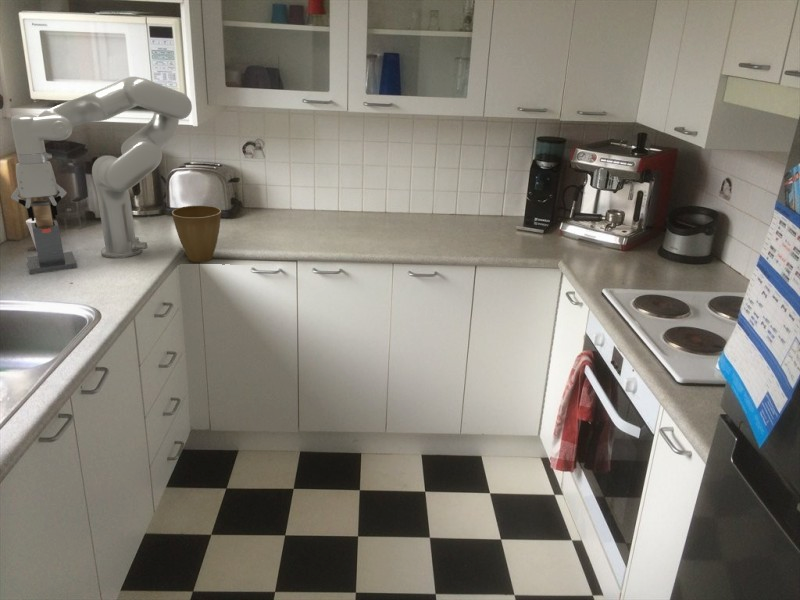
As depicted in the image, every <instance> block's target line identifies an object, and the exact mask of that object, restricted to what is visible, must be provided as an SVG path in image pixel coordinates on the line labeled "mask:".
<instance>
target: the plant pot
mask: <svg viewBox="0 0 800 600" xmlns="http://www.w3.org/2000/svg"><path fill="white" fill-rule="evenodd" d="M171 214H172V218H173V223H174V226H175V230H176V232H177V235H178V239H179V241H180V244H181V246H182V248H183V251H184V253H185V255H186V257H187V259H188V260H189V261H190V262H193V263H204V262H209V261H211V260H212V259H213V257H214V253H215V250H216V247H217V243H218V239H219V233H220V227H221V217H222V210H221V209H220V208H219V207H217V206H216V207H215V206H212V205H188V206H187V205H186V206H181V207H178V208H175V209H173V210H172V211H171Z"/></svg>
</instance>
